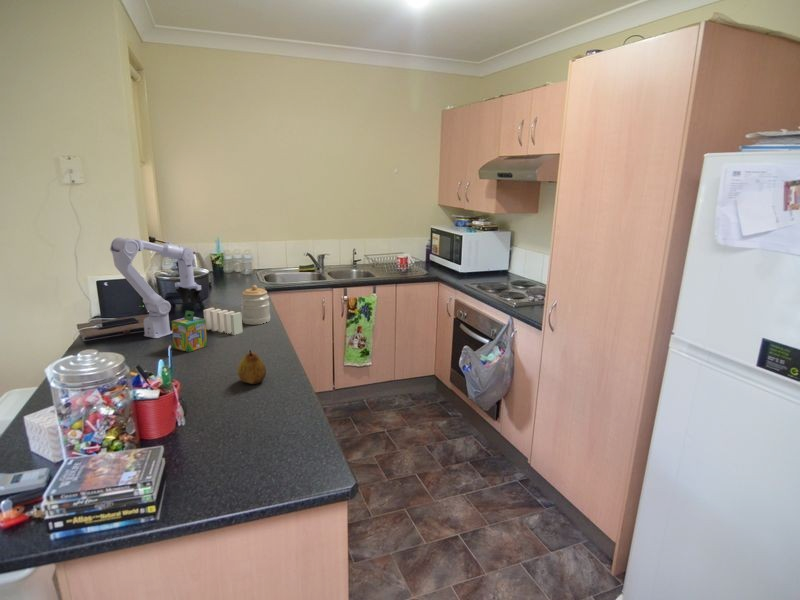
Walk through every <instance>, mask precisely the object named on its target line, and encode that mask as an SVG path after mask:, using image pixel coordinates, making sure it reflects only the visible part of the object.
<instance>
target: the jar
mask: <svg viewBox="0 0 800 600" xmlns="http://www.w3.org/2000/svg"><path fill="white" fill-rule="evenodd" d="M269 298H270V296H269V294H268V291H267V290H265V288H260V287H258V286H257V285H256V284H253V285H252V286H251V288H247V289H245V290H244V291H242V296H241V297H240V300H241V304H240V306H241V315H242V324H245V325H249V326H251V325H254V326H255V325H264V324H267V323H270V321H271V312H270V311H271V309H270V301H269ZM266 322H267V323H266ZM263 323H264V324H263Z"/></svg>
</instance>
